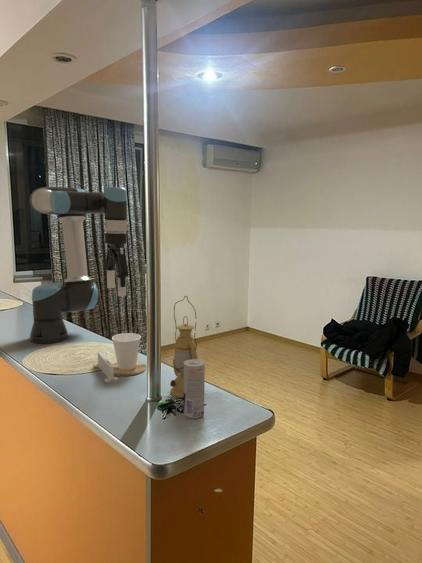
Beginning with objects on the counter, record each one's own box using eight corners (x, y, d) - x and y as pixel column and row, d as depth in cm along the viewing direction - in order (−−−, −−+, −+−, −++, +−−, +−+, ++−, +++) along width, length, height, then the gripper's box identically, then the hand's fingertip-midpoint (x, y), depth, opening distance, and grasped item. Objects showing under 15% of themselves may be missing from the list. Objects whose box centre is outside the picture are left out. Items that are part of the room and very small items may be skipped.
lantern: (160, 389, 126) (159, 294, 121) (185, 381, 133) (186, 290, 128) (182, 403, 117) (183, 301, 112) (209, 394, 123) (210, 297, 118)
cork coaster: (103, 366, 145) (103, 364, 145) (138, 360, 151) (138, 358, 151) (114, 379, 134) (114, 377, 134) (151, 371, 140) (151, 370, 140)
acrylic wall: (93, 366, 145) (93, 352, 144) (104, 364, 147) (104, 350, 146) (106, 382, 131) (105, 367, 130) (118, 380, 133) (117, 365, 132)
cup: (135, 374, 137) (134, 342, 135) (107, 371, 139) (106, 340, 137) (145, 363, 146) (145, 334, 144) (119, 361, 148) (119, 332, 146)
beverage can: (208, 414, 111) (209, 362, 109) (194, 422, 107) (194, 367, 105) (193, 407, 115) (193, 356, 112) (179, 414, 111) (179, 362, 108)
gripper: (95, 229, 151) (97, 285, 155) (115, 235, 130) (116, 300, 134) (115, 229, 155) (116, 284, 159) (138, 235, 134) (138, 298, 138)
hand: (116, 291), depth 146 cm, fingers open, 13 cm apart
